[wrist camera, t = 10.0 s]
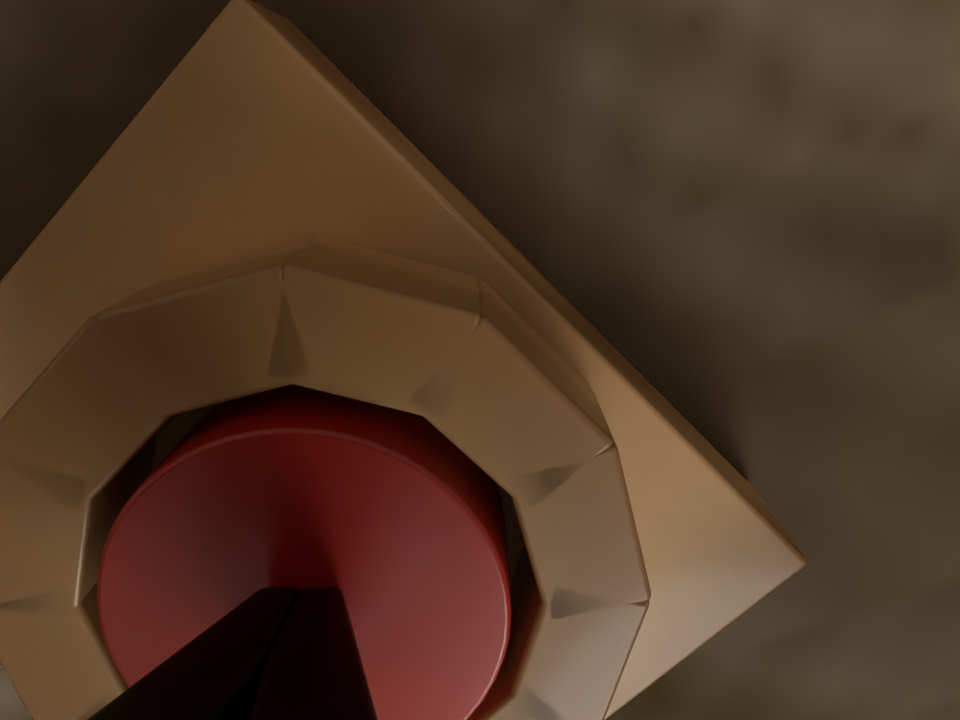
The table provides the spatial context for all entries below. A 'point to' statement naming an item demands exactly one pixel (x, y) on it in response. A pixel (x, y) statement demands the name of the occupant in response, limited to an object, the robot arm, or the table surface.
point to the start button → (319, 544)
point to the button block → (344, 379)
